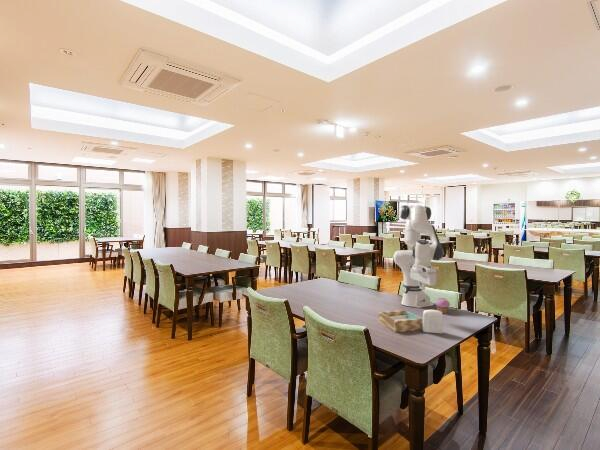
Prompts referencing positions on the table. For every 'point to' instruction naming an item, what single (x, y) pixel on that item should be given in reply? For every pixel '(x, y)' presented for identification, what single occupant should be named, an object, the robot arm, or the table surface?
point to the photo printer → (432, 321)
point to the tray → (405, 316)
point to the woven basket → (399, 322)
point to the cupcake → (442, 305)
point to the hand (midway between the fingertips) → (422, 289)
